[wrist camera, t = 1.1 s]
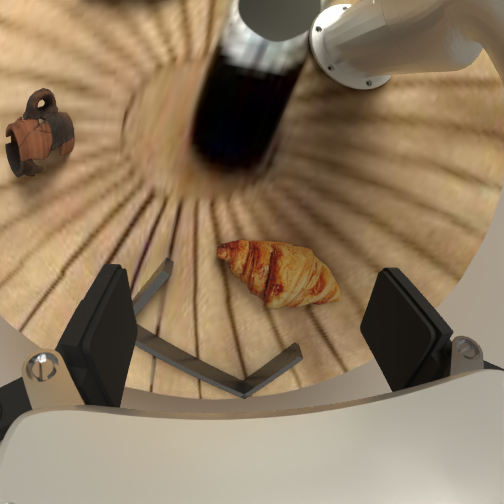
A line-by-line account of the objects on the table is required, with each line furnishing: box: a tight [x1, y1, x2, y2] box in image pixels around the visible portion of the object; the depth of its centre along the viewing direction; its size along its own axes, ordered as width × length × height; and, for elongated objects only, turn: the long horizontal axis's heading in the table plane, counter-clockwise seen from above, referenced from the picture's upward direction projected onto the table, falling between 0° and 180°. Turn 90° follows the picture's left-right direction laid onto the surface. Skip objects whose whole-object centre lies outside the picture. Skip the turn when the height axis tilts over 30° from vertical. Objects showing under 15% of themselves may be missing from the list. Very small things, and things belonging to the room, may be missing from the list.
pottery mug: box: [5, 88, 74, 177], centre depth 27 cm, size 12×10×8 cm
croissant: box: [217, 240, 341, 309], centre depth 41 cm, size 21×10×8 cm, turn 64°
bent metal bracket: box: [132, 258, 303, 399], centre depth 46 cm, size 15×28×4 cm, turn 47°
